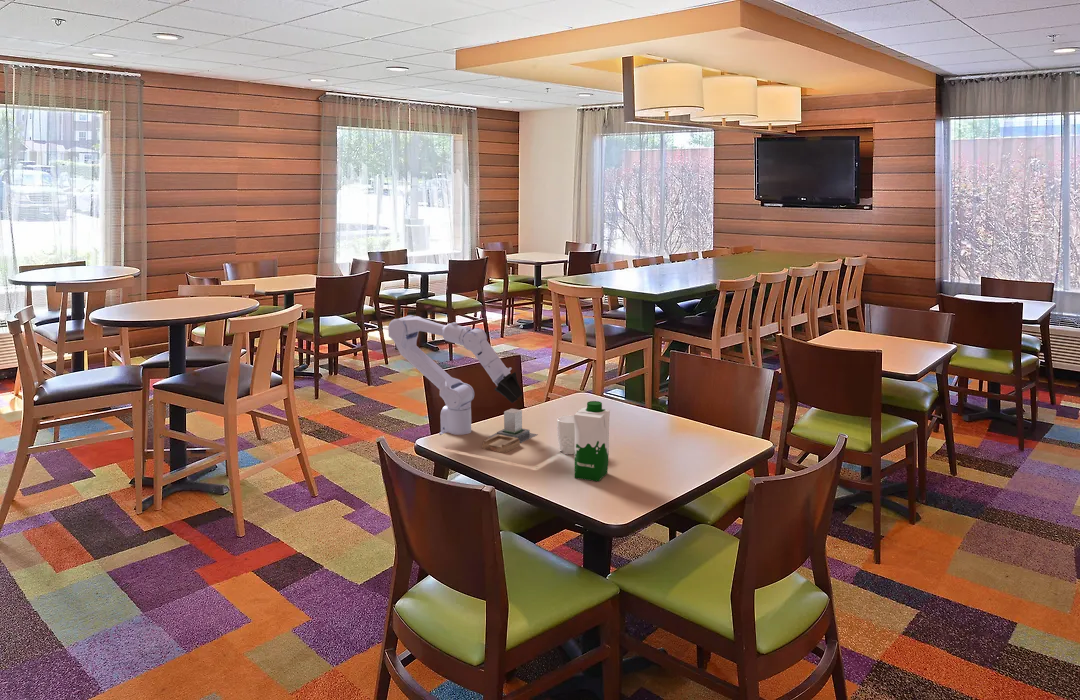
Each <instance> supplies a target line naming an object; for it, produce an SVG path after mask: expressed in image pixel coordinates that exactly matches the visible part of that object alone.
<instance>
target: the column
mask: <svg viewBox="0 0 1080 700" xmlns="http://www.w3.org/2000/svg"><path fill="white" fill-rule="evenodd" d="M503 421H504V423H503V424H504V425H503V426H504V427H503V429H504V433H510V434H515V435H516V434H518V433H520V432H522V431H523V429H524V428H523V410H522V409H517V408H510V409H507V410H505V411H503Z"/></svg>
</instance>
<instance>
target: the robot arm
mask: <svg viewBox="0 0 1080 700" xmlns="http://www.w3.org/2000/svg"><path fill="white" fill-rule="evenodd" d="M387 329H388V331H387V332H388V337H389V338H390V339H391V340H392V341H393V342H394V344H395V347H396V349H397V350H398V353H399V354H400V356H402V357H403V358H404V359H405V360H406V361H408V362H409V363H410V364H411V365H412V366H413V367H414V368H415V369H416V370H418V372H420V374H422V375H423V376H424V377H425V378H426V379H428V381H430V382H431V383H432V384H433V385H434V386H436V388H437V389H438V390H439V397H440V398H441V399H442V400H443V401H444V404H445V405H444V406H443V407H442V409H441V411H440V416H439V417H440V432H439V435H443V434H446V433H449V434H451V435H456V436H461V435H462V436H463V435H469V434H470V433H471V432H472V401H473V400H474V398H475V390H474V388H473V386H472V385H470V384H468V383H466V382H463V381H462V380H461V379H460V378H456V377H453V376H451V375H450V374H449V373H447V371H445V370H444V369H443V368H442V367H441V366H439V364H437V363H436V361H434V360H433V359H432V358H431V357H430V356H429V355H427V354H426V353H425V351H423V350H422V349H421V348H420V347H419V346H417V342H418V337H419V332H424V333H429V334H431V335H438V336H440V337H441V336H442V338H443V340H444V341H445V342H448V343H452V344H455V345H460V346H463V348H465V350H468V351H471V353H472V354H473V355H474V356H475V358H476V360H478V362H479V364H480V365H481V366H482V367H483V369H484V370H485V372H486V373H487V375H488V376H489V377H490V379H491V381H492V382H493V383H494V384H495V386H496V387H495V388H494V391H495V392H497V393H499V394H500V395H502V396H503V397H504V398H505V399H507V400H508V401H509V402H510V403H511V404H514V403H515V402H516V401H518V398H520V397H522V396H523V395H524V394H523V392H522V389H521V386H520V383H519V382H518V378H517V372H515V371H514V372H512V373H511V370H512V369H513V368H512V367H506V365H505V363H504V362H503V361H502V359H501V358H500V356H499V355H498V354H497V353H496V351H495V350H494V348H493V346H491V344H490V343H489V342H488V335H487V333H486V332H485V330H484V329H481V328H480V327H475V328H473V329H472V328H471V326H462V325H460V324H458V322H455V321H454V322H451V323H448V324H446V325H444V324H441V323H439V322H435V321H432V320H430V319H427V318H423V317H421V316H418V315H412V314H408V315H406V316H404V317H400V318H394V319H392V320H391V321H389V323H388V327H387Z"/></svg>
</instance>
